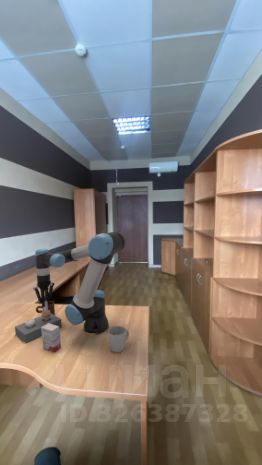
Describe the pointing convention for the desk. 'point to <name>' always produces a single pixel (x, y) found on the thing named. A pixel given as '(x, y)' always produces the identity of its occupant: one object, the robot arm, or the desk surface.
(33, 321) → the grey plug
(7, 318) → the desk surface
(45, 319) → the terracotta plug
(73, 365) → the desk surface
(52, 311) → the mug
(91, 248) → the robot arm
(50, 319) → the panel
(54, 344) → the ink box
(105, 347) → the desk surface
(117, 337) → the mug
